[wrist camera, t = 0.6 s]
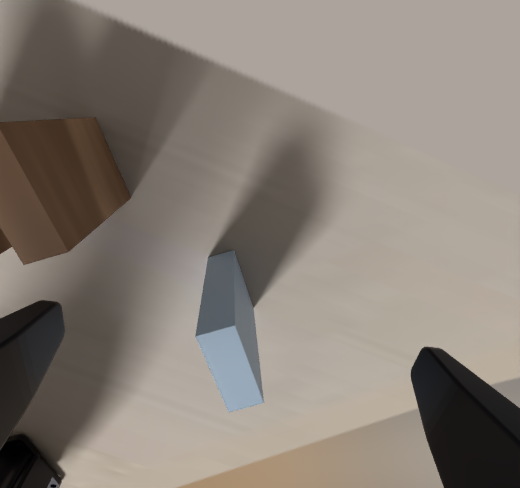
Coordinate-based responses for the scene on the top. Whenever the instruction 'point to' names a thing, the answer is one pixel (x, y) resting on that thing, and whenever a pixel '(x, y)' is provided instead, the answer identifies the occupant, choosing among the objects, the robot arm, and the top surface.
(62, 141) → the tile
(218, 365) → the blue tile
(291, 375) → the top surface
